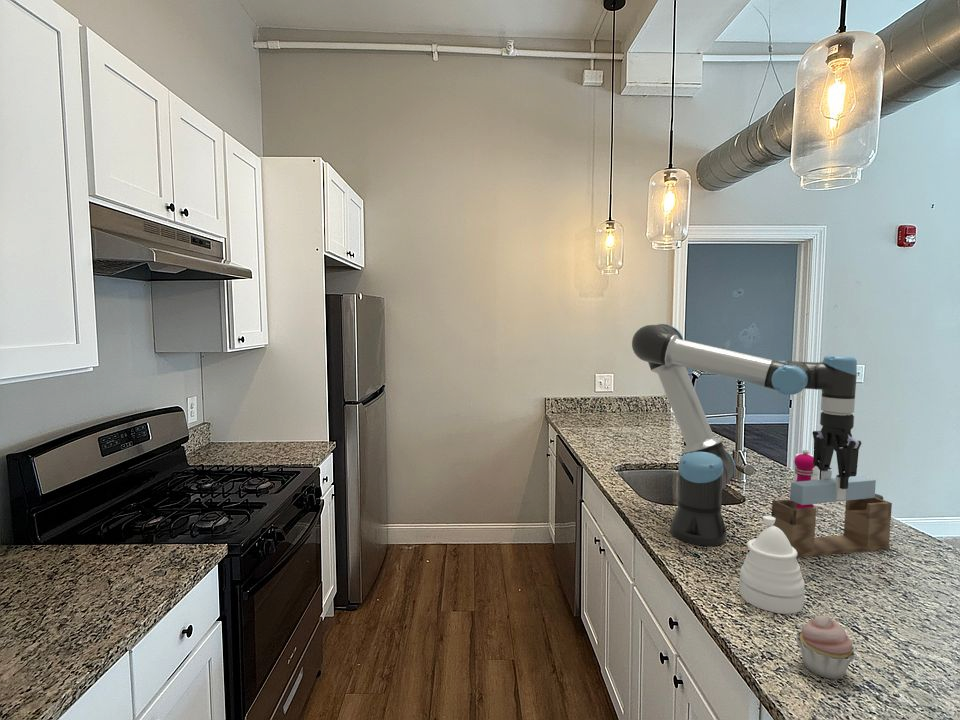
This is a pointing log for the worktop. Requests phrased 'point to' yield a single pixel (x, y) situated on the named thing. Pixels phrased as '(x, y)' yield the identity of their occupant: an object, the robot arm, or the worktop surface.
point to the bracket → (861, 527)
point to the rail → (831, 490)
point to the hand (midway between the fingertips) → (832, 496)
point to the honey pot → (772, 572)
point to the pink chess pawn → (815, 469)
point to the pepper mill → (804, 471)
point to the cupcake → (825, 647)
